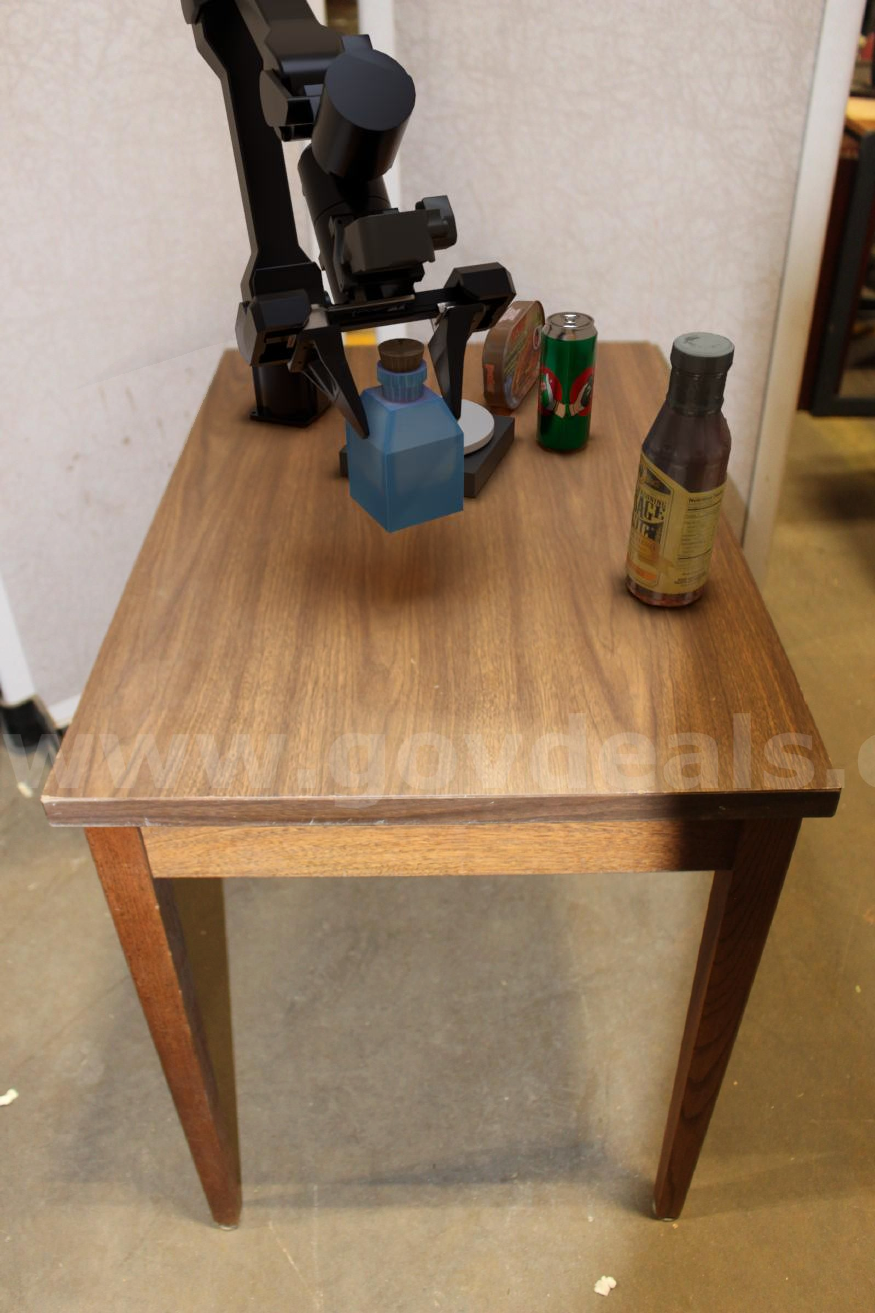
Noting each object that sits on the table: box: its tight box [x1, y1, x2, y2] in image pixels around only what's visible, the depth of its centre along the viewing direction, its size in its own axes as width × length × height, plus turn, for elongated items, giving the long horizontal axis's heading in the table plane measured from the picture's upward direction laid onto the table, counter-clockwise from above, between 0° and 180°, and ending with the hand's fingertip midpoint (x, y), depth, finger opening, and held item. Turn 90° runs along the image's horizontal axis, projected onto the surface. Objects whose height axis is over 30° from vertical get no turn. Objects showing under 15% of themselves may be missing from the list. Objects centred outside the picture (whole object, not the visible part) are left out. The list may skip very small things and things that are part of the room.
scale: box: [338, 395, 516, 498], centre depth 99 cm, size 13×12×4 cm
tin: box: [481, 299, 546, 410], centre depth 110 cm, size 15×3×8 cm, turn 160°
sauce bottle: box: [625, 331, 736, 608], centre depth 76 cm, size 6×6×20 cm
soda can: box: [535, 311, 599, 453], centre depth 99 cm, size 5×5×12 cm
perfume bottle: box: [344, 337, 464, 534], centre depth 75 cm, size 6×6×12 cm
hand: (411, 428), depth 74 cm, fingers closed on perfume bottle, 6 cm apart
